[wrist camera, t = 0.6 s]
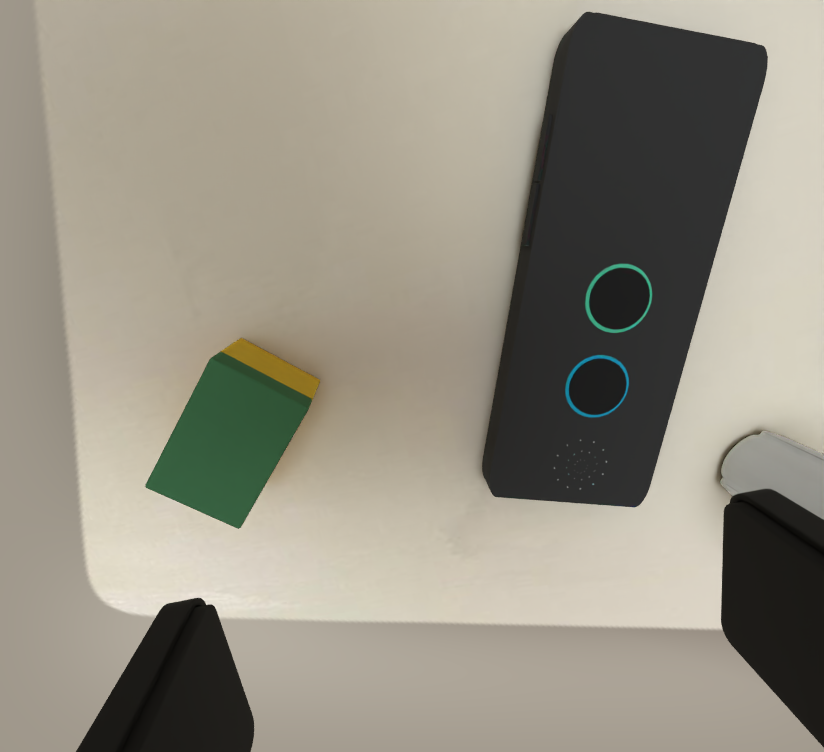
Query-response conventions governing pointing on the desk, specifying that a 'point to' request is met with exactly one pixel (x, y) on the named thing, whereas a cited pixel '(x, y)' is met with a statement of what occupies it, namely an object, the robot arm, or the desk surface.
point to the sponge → (233, 432)
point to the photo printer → (776, 470)
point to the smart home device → (616, 254)
